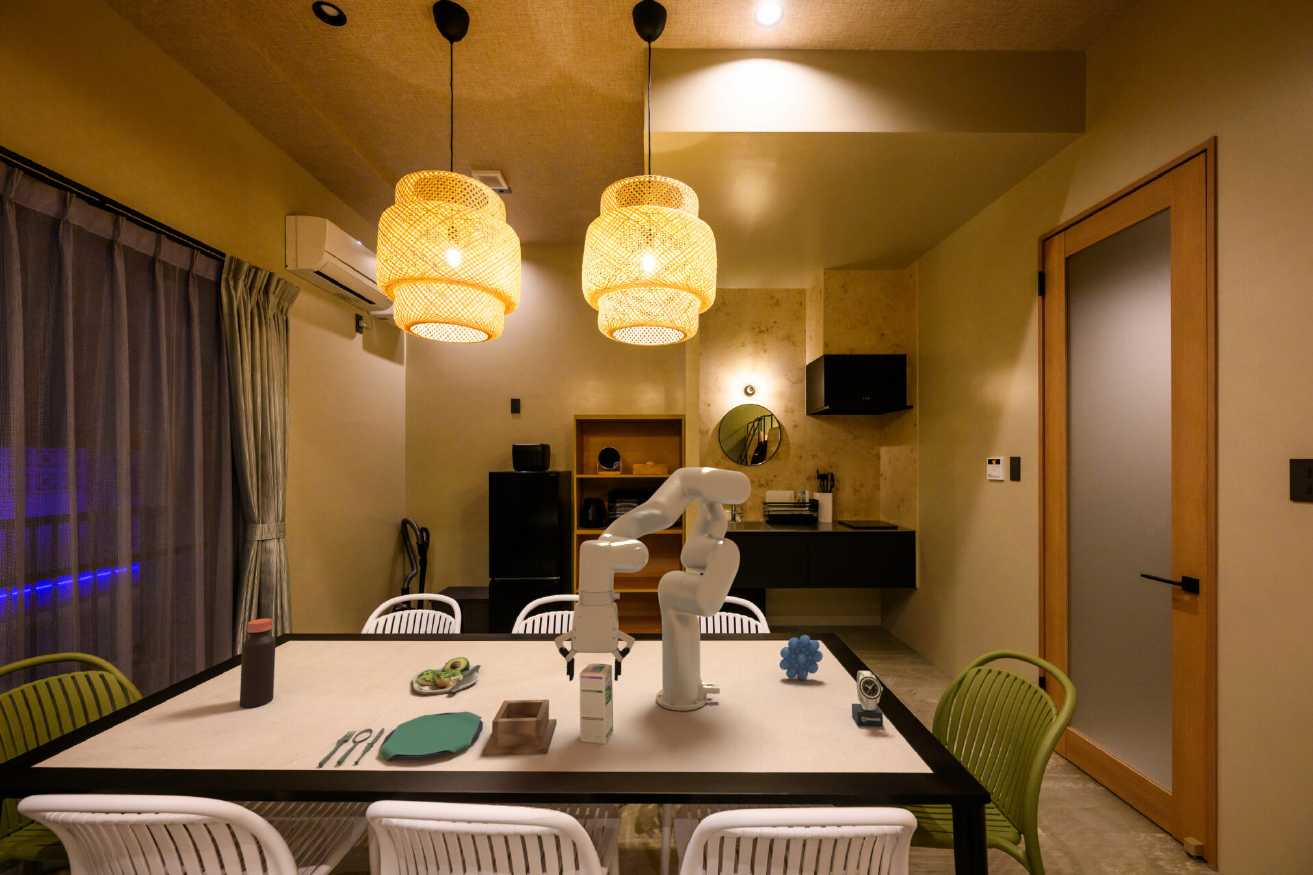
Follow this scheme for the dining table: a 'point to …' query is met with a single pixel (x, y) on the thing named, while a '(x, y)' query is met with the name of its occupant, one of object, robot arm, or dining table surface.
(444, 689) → the avocado toast plate
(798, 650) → the blue knobbly flower shape
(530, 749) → the walnut holder
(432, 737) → the cutlery set
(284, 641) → the dining table surface
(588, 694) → the syrup box
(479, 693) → the dining table surface
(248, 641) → the bottle
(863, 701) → the watch
